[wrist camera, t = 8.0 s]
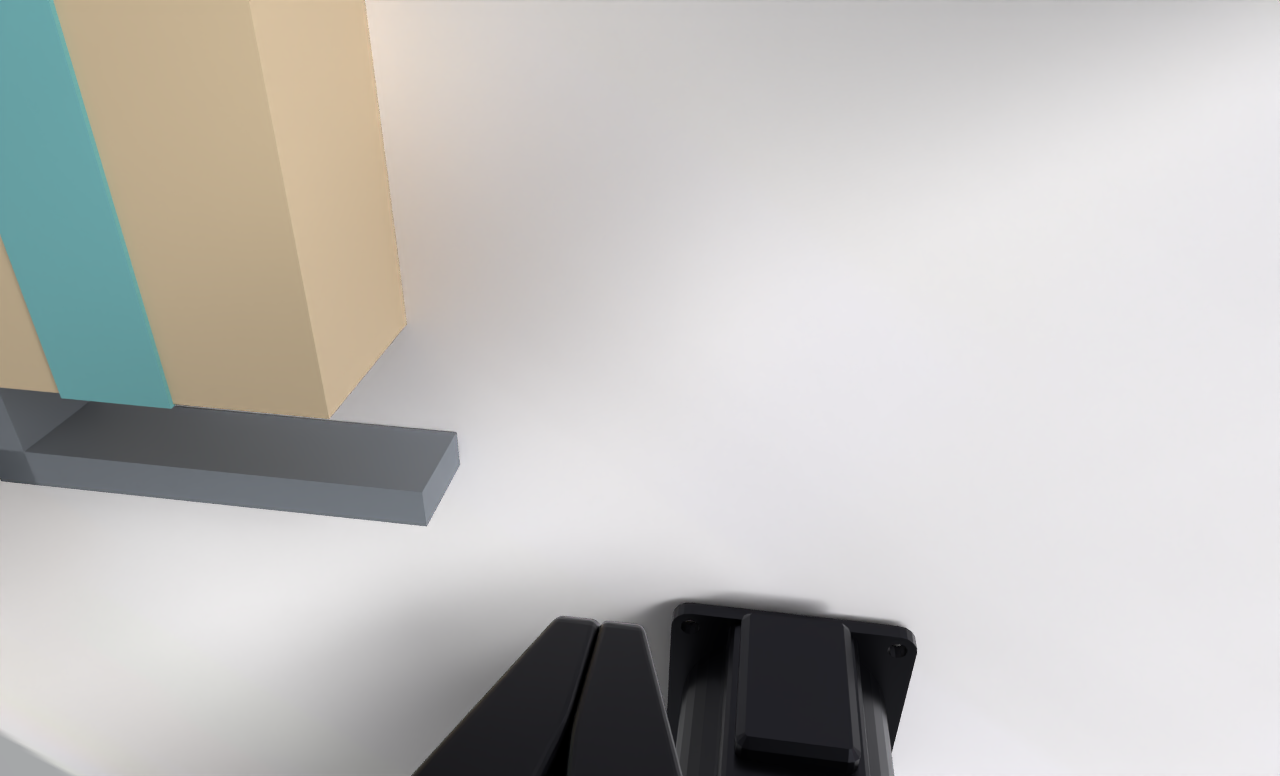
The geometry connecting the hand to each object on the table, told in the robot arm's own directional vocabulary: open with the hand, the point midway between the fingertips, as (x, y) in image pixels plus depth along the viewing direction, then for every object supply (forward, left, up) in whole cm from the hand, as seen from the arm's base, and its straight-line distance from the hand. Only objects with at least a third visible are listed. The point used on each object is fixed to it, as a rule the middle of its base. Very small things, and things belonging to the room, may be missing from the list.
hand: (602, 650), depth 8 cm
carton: (+1, +11, -12) cm, 17 cm away
